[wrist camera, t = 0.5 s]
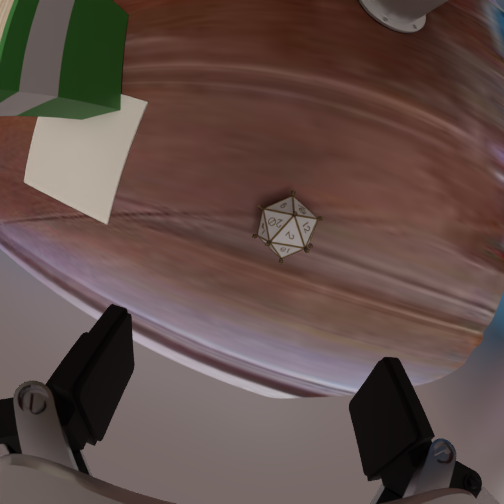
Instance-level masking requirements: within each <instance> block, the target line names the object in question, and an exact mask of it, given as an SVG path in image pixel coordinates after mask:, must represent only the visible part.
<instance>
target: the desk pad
mask: <svg viewBox="0 0 504 504" xmlns="http://www.w3.org/2000/svg"><path fill="white" fill-rule="evenodd" d="M148 103H149V102H146V101H143V100H139V99H136V98H133V97H129V96H126V95H122V94H121V108H120V110H119V111H115V112H110V113H106V114H102V115H98V116H94V117H90V118H87V119H83V120H78V119H67V118H54V117H38V119H37V123H36V127H35V130H34V134H33V138H32V142H31V147H30V151H29V156H28V161H27V166H26V172H25V178H24V183H26V184H28V185H30V186H32V187H34V188H36V189H38V190H40V191H41V192H43V193H45V194H47V195H49V196H51V197H53V198H55V199H57V200H59V201H61V202H63V203H65V204H67V205H69V206H71V207H73V208H75V209H77V210H79V211H81V212H83V213H85V214H87V215H89V216H91V217H93V218H95V219H97V220H99V221H101V222H103V223H105V224H108V222H109V218H110V214H111V210H112V207H113V203H114V199H115V195H116V192H117V188H118V185H119V182H120V178H121V175H122V172H123V169H124V166H125V163H126V160H127V157H128V154H129V151H130V148H131V145H132V143H133V140H134V137H135V135H136V132H137V129H138V127H139V124H140V122H141V119H142V117H143V115H144V112H145V110H146V107H147V105H148Z"/></svg>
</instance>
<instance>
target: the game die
mask: <svg viewBox="0 0 504 504" xmlns="http://www.w3.org/2000/svg"><path fill="white" fill-rule="evenodd" d="M294 195H295V191H294V189H293V191H292V192H291V196H290V197H287V198H285V199H283V200H281V201H278V202H276V203H274V204H271V205H269V206H267V207H265V208H264V207H263V206H262V205H258V207H259V209H260V210H262V214H261V219H260V224H259V229H258V234H255V235H254V234H253V236H252V238H257V237H259V238H260V239H261V240H262V241H263V242H264V243H265V244H266V245H265V246H268V247H269V248H270V249H271V250H272V251H273V252H274V253H275V254H277V255H278V256H279V257H280V259H279V264H281V263H283V258H285V257H287V256H289V255H292V254H294V253H296V252H299V251H301V250H303V249H304V251H305V252H306V253H309V249H308V248H306V247H307V246H308V247H309V248H313V246H312V244H310V241H311V238H312V235H313V233H314V230H315V227H316V224H317V221H318V220H322V219H323V218H324V217H322V216H320V217H318V218H317V217H316V216H315V215H314V214H313V213H312V212H310V211H309V210H308V209H307V208H306V207H305V206H304V205H303V204H302V203H301V202H300V201H298V200H297V199H296V198H295V197H294Z"/></svg>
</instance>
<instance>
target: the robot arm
mask: <svg viewBox="0 0 504 504" xmlns="http://www.w3.org/2000/svg"><path fill="white" fill-rule="evenodd" d="M447 1H449V0H359V2H360V4H361V5H362V7H363V8H364V9H365V11H366V12H367V13H368V14H369V15H370V16H371V17H373V18H374V19H375V20H376V21H378V22H379V23H381V24H382V25H384V26H386V27H388V28H390V29H392V30H395V31H397V32H402V33H414V32H416V31H418V30H420V29H421V28H422V27H423V26H424V25H425V22H426V14H427V13H429V12H430V11H432V10H434V9H435V8H437V7H438V6H440V5H442V4H444V3H445V2H447ZM133 370H134V354H133V339H132V317H131V314H129V313H128V312H127V309H126V308H123V307H120V306H117V305H114V304H111V305H110V306H109V307H108V308H107V310H106V311H105V312H104V313H103V315H102V316H101V317H100V319H99V320H98V321H97V322H96V324H95V325H94V326H93V328H92V329H91V330H90V332H89V333H87V332H85V333H83V334H82V335H81V336H80V338H79V339H78V340H77V341H76V343H75V344H74V345H73V347H72V348H71V349H70V351H69V353H68V354H67V355H66V356H65V358H64V359H63V360H62V362H61V364H60V365H59V366H58V367H57V369H56V370H55V372H54V373H53V374H52V376H51V377H50V379H49V380H48V382H47V383H46V385H44V384H43V383H41V382H38V381H27V382H24V383H23V384H21V385H20V386H19V387H18V388H17V389H16V391H15V394H14V397H13V398H8V399H1V400H0V504H176V503H171V502H167V501H163V500H159V499H156V498H152V497H148V496H145V495H142V494H139V493H135V492H132V491H129V490H126V489H123V488H120V487H118V486H114V485H112V484H110V483H107V482H104V481H102V480H99V479H97V478H94V477H93V476H92V474H91V472H90V469H89V467H88V465H87V462H86V460H85V457H84V454H83V452H82V449H84V446H85V444H86V442H87V443H89V444H92V445H94V446H95V444H96V442H97V440H98V441H101V440H102V439H103V437H104V435H105V433H106V430H107V428H108V426H109V423H110V421H111V419H112V416H113V414H114V412H115V409H116V408H117V405H118V403H119V401H120V399H121V396H122V394H123V392H124V390H125V388H126V386H127V383H128V381H129V379H130V377H131V375H132V373H133ZM349 411H350V415H351V419H352V423H353V427H354V431H355V436H356V439H357V444H358V448H359V453H360V457H361V462H362V466H363V471H364V474H365V475H366V476H367V477H368V481H372V480H378V479H380V478H382V484H381V486H380V488H379V490H378V491H377V493H376V495H375V496H374V498H373V500H372V501H371V503H370V504H499V502H498V501H497V500H496V499H495V498H494V497H493V496H492V495H491V494H490V493H489V492H488V491H487V490H486V489H485V488H484V487H482V488H481V486H482V481H481V478H480V476H479V474H478V473H477V472H476V471H474V470H472V469H470V468H468V467H466V466H465V465H463V464H461V463H460V462H458V461H456V450H455V448H454V446H453V445H452V444H451V443H450V442H449V441H448V440H446V439H442V438H441V439H440V438H439V439H436V440H435V441H433V442H432V441H431V439H432V438H433V437H434V433H433V431H432V428H431V426H430V424H429V421H428V419H427V417H426V415H425V412H424V410H423V408H422V405H421V403H420V401H419V399H418V397H417V395H416V393H415V390H414V388H413V386H412V384H411V382H410V380H409V378H408V376H407V374H406V372H405V370H404V368H403V366H402V364H401V362H400V360H399V359H398V358H394V357H384V358H383V359H382V360H380V361H379V362H378V363H377V364H376V366H375V367H374V369H373V370H372V372H371V373H370V375H369V376H368V378H367V379H366V381H365V382H364V383H363V385H362V386H361V388H360V389H359V390H358V392H357V393H356V394H355V396H354V397H353V399H352V400H351V401H350V404H349Z"/></svg>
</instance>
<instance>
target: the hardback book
mask: <svg viewBox="0 0 504 504" xmlns="http://www.w3.org/2000/svg"><path fill="white" fill-rule="evenodd" d="M128 16H129V15H128V14H127V13H126V12H125V11H124V10H123V9H121V8H120V7H119V6H118V5H117V4H116V3H115V2H114V1H113V0H0V116H36V117H54V118H67V119H78V120H83V119H87V118H90V117H94V116H98V115H102V114H106V113H110V112H115V111H119V110H120V108H121V81H122V66H123V54H124V45H125V36H126V29H127V22H128Z"/></svg>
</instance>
